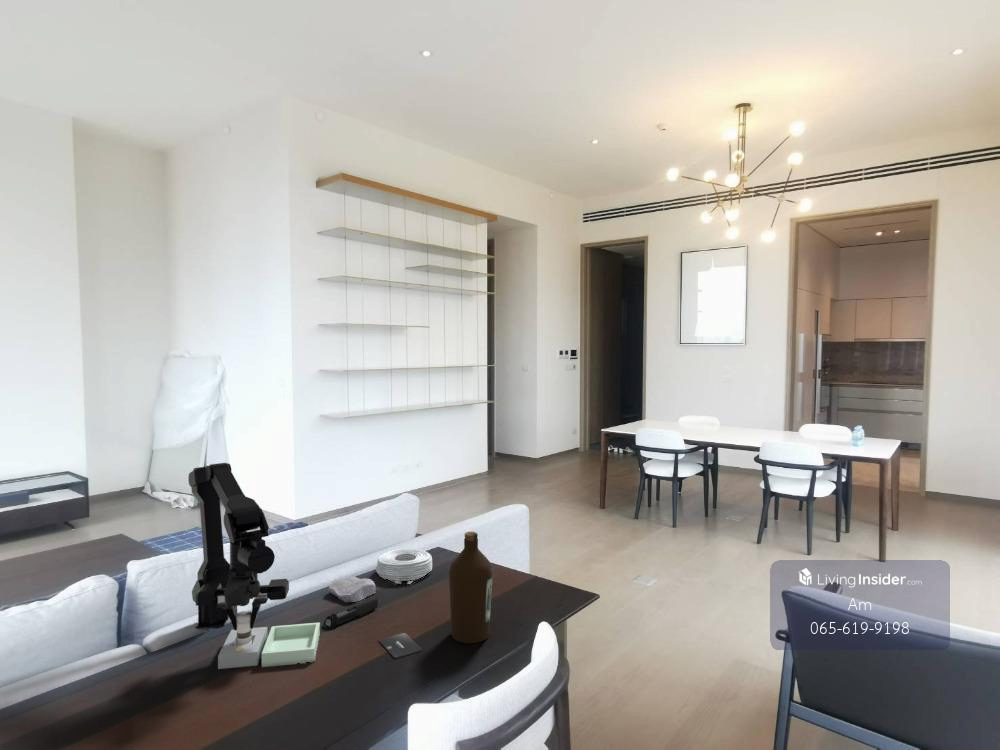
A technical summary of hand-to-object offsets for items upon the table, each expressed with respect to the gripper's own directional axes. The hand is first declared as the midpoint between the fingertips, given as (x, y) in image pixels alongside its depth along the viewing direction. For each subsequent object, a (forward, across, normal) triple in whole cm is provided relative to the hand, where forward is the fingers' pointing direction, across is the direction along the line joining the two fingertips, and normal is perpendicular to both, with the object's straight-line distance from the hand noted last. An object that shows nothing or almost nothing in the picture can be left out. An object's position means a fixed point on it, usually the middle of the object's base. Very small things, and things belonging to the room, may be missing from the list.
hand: (244, 628), depth 132 cm
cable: (+6, +38, +43) cm, 58 cm away
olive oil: (+6, +52, -1) cm, 52 cm away
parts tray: (+6, +10, 0) cm, 12 cm away
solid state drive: (+6, +35, -3) cm, 36 cm away
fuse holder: (+6, 0, 0) cm, 6 cm away
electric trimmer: (+6, +23, +14) cm, 28 cm away
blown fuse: (+4, 0, 0) cm, 4 cm away
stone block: (+6, +22, +29) cm, 37 cm away
